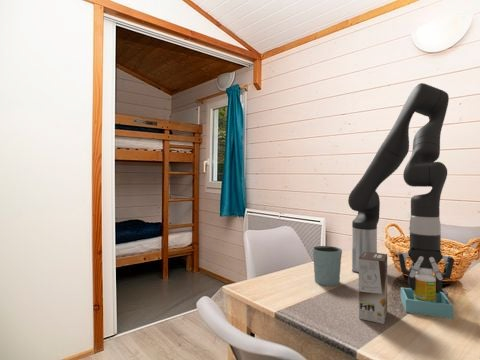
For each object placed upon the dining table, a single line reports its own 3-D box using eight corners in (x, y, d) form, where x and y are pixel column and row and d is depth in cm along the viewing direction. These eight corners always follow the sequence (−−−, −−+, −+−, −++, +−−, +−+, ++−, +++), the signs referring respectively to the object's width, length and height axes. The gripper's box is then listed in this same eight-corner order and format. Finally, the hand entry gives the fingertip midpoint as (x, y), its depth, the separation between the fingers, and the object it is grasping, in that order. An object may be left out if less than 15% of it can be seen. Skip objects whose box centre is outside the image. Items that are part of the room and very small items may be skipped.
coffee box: (385, 324, 75) (385, 261, 75) (358, 318, 78) (358, 258, 78) (387, 311, 83) (387, 253, 83) (363, 306, 86) (363, 250, 86)
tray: (405, 312, 82) (405, 299, 82) (400, 298, 92) (400, 287, 92) (453, 318, 78) (453, 305, 78) (442, 304, 88) (442, 292, 88)
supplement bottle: (428, 306, 81) (428, 271, 81) (409, 299, 86) (409, 265, 86) (440, 302, 84) (440, 268, 84) (421, 296, 89) (421, 263, 89)
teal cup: (310, 284, 104) (310, 250, 104) (314, 275, 114) (314, 244, 114) (341, 288, 101) (341, 252, 101) (342, 279, 110) (342, 246, 110)
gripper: (398, 232, 84) (398, 292, 84) (459, 235, 79) (459, 299, 79) (395, 228, 91) (395, 283, 91) (450, 231, 86) (450, 289, 86)
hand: (424, 290), depth 85 cm, fingers closed on supplement bottle, 5 cm apart
